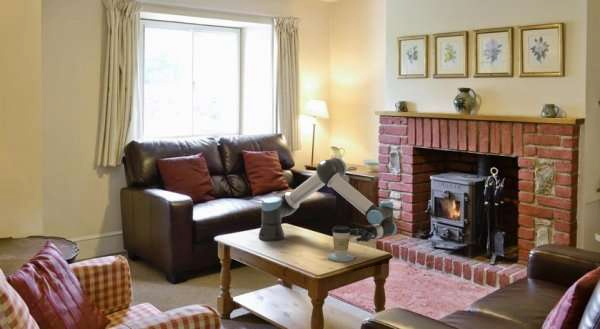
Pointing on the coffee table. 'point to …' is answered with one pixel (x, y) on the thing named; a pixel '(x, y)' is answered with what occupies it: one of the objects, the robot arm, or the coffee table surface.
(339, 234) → the coffee cup
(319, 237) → the coffee table surface
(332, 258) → the saucer
